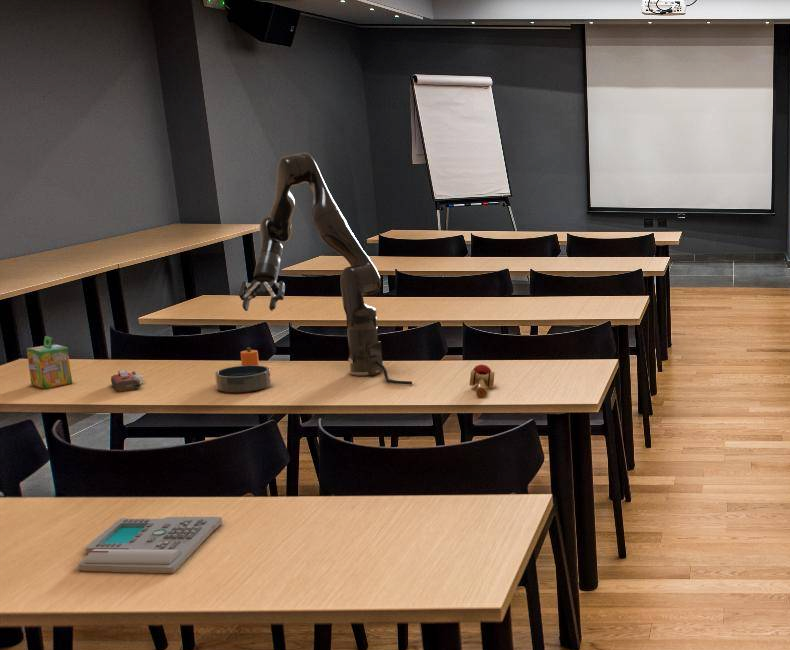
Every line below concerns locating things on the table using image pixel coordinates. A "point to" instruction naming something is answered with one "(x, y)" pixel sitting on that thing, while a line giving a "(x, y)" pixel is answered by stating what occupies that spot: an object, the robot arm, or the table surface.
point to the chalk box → (49, 365)
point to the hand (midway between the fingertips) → (258, 309)
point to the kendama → (482, 379)
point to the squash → (249, 357)
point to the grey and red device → (126, 381)
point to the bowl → (243, 378)
